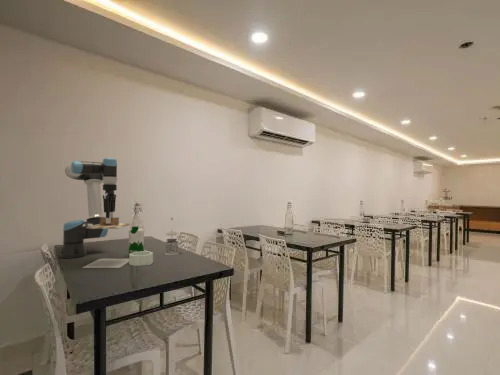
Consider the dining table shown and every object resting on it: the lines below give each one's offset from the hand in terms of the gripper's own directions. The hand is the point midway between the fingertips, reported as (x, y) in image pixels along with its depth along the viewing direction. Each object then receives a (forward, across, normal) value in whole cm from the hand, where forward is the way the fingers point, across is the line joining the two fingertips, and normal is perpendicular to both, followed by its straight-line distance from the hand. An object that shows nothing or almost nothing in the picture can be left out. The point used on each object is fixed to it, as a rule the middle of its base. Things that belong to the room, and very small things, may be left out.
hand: (109, 222), depth 177 cm
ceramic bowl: (+24, 0, -19) cm, 31 cm away
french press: (+25, +27, -32) cm, 49 cm away
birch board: (+2, 0, 0) cm, 2 cm away
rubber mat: (+24, 0, 0) cm, 24 cm away
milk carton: (+25, +18, -10) cm, 32 cm away
